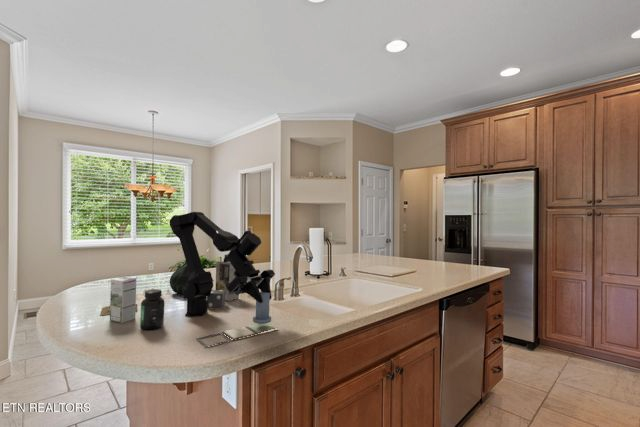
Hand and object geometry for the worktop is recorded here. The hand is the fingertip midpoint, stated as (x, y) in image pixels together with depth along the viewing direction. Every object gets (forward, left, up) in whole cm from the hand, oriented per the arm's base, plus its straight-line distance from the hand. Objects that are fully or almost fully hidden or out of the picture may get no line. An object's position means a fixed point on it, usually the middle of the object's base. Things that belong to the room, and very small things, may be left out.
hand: (266, 300), depth 106 cm
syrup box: (-50, +11, -10) cm, 52 cm away
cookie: (-57, +23, -10) cm, 62 cm away
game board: (-8, -4, -10) cm, 13 cm away
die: (-22, +28, -10) cm, 37 cm away
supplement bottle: (-37, +3, -10) cm, 38 cm away
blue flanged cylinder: (-1, +1, -7) cm, 7 cm away
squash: (-40, +50, -10) cm, 65 cm away
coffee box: (-20, +41, -10) cm, 46 cm away
